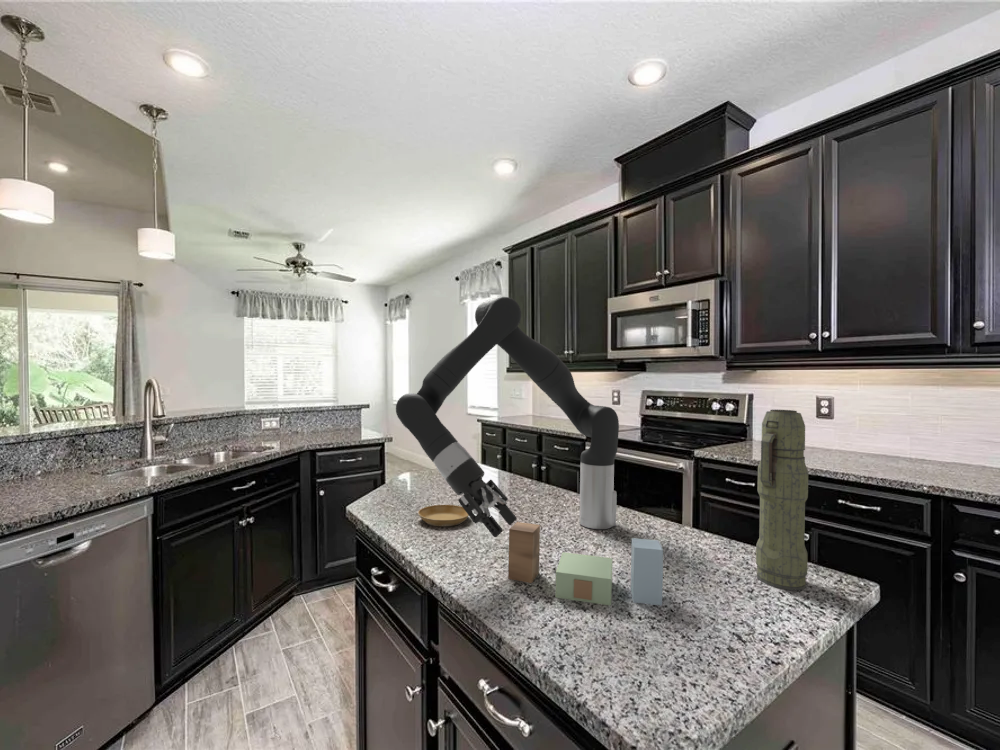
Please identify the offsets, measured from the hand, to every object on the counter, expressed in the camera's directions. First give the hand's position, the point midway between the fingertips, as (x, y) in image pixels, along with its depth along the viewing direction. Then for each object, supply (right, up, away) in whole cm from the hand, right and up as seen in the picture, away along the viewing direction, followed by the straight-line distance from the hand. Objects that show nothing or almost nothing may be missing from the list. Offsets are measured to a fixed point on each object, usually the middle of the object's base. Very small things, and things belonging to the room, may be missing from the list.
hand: (506, 528), depth 94 cm
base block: (+15, -10, -7) cm, 19 cm away
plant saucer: (-17, -10, +34) cm, 39 cm away
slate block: (+26, -10, -10) cm, 29 cm away
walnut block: (+3, -9, -2) cm, 10 cm away
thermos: (+56, -11, -1) cm, 57 cm away
